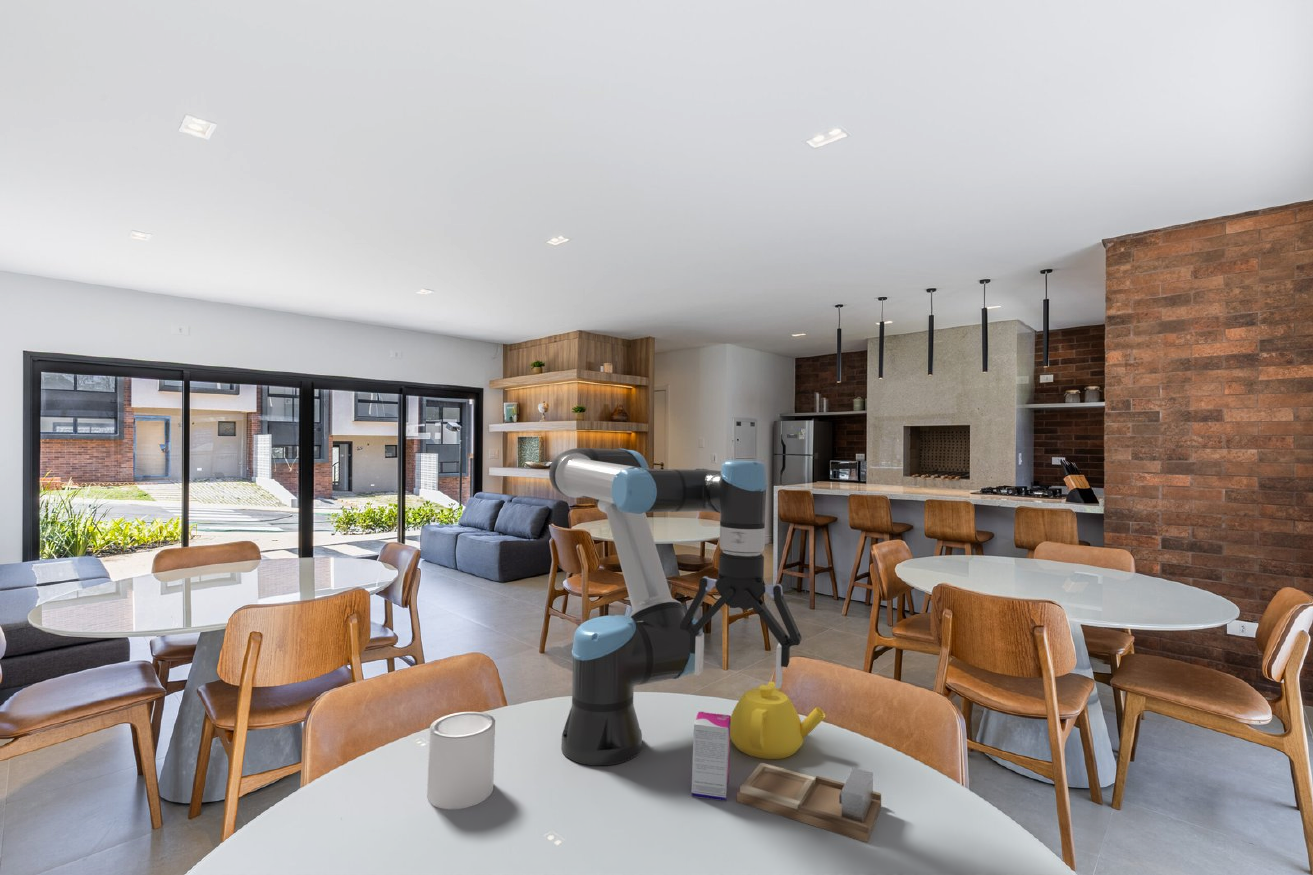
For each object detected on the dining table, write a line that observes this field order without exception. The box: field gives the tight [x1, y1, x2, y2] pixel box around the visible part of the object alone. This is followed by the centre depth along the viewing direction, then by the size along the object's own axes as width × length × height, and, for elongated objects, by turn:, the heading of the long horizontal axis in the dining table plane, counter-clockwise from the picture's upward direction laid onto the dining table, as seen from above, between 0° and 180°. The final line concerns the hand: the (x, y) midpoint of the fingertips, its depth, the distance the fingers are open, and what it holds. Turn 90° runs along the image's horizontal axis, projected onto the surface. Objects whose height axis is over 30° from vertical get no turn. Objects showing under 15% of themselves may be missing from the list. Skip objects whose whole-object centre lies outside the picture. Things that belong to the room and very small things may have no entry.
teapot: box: [730, 681, 827, 760], centre depth 116 cm, size 20×18×11 cm
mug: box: [426, 711, 496, 810], centre depth 100 cm, size 14×10×11 cm
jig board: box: [736, 762, 882, 843], centre depth 96 cm, size 20×11×2 cm, turn 60°
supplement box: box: [690, 711, 731, 802], centre depth 100 cm, size 6×6×12 cm
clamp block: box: [839, 767, 874, 823], centre depth 93 cm, size 4×8×4 cm, turn 150°
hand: (737, 679), depth 102 cm, fingers open, 13 cm apart
